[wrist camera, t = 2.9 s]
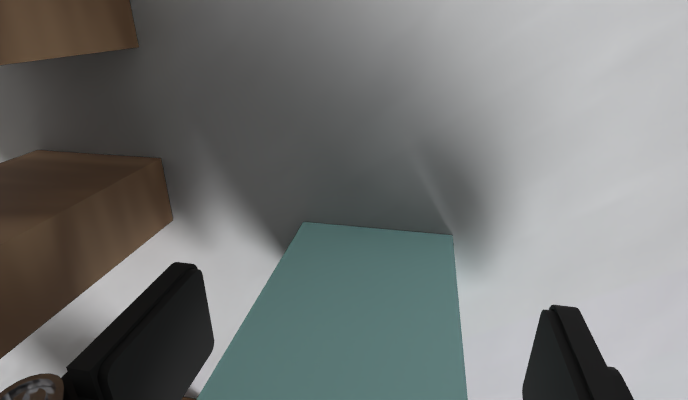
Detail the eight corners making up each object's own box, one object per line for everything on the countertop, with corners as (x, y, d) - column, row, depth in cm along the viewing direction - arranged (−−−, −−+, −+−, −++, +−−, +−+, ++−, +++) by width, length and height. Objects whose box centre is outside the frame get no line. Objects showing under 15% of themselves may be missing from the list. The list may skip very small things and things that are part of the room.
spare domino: (303, 222, 14) (86, 581, 5) (452, 235, 13) (494, 693, 4) (306, 279, 15) (128, 663, 6) (445, 295, 14) (467, 766, 5)
